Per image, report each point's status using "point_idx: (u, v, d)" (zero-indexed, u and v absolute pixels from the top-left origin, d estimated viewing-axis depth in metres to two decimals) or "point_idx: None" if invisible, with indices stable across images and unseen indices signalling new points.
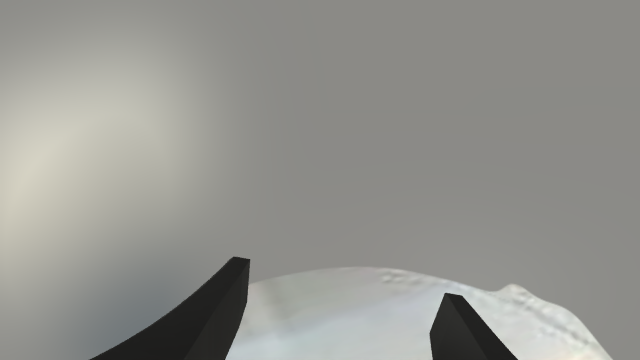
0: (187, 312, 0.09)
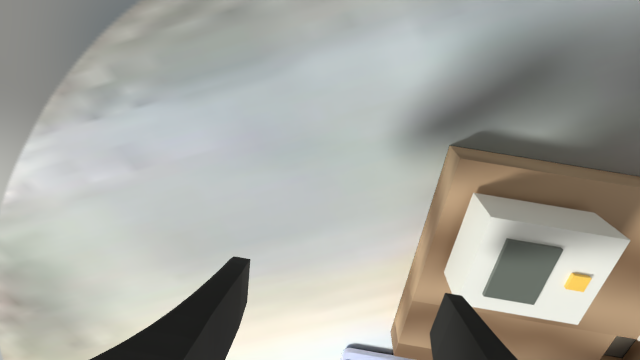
0: (187, 312, 0.09)
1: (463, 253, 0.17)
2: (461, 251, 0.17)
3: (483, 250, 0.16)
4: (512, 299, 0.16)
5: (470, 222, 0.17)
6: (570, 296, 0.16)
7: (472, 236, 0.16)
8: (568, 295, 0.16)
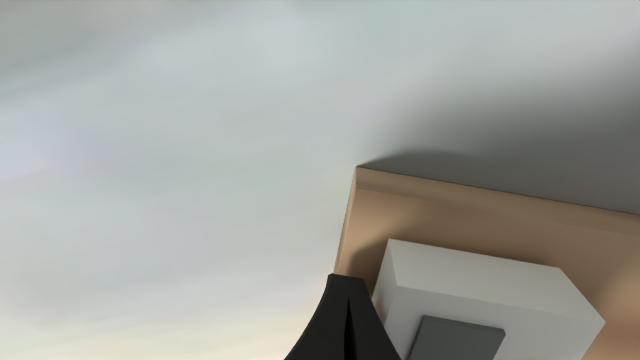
0: (320, 335, 0.09)
1: None
2: None
3: (392, 330, 0.11)
4: None
5: (382, 281, 0.12)
6: None
7: (382, 304, 0.11)
8: None
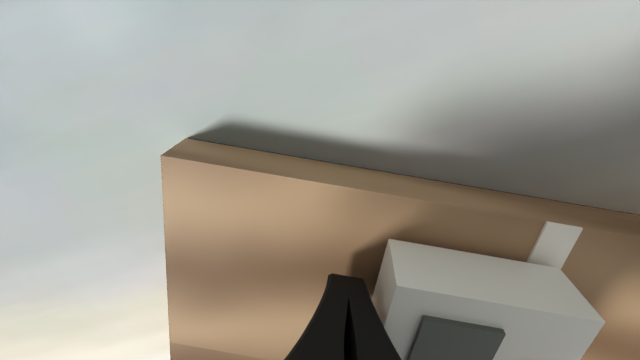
0: (320, 335, 0.09)
1: None
2: None
3: (392, 329, 0.11)
4: None
5: (382, 281, 0.12)
6: None
7: (382, 304, 0.11)
8: None
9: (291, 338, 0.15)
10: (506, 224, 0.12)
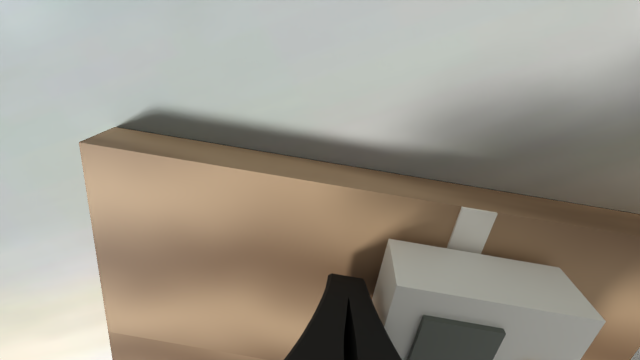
0: (320, 335, 0.09)
1: None
2: None
3: (392, 330, 0.11)
4: None
5: (382, 281, 0.12)
6: None
7: (382, 304, 0.11)
8: None
9: (226, 327, 0.15)
10: (423, 209, 0.12)
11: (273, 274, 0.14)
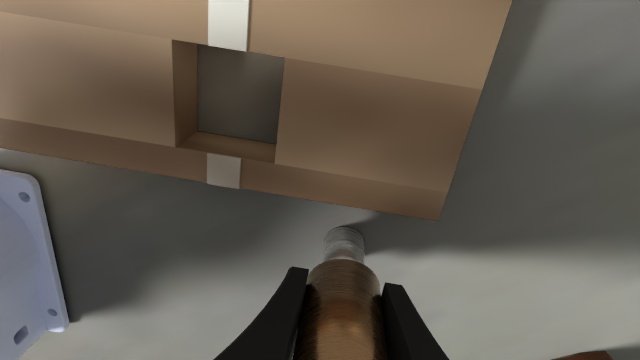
0: (267, 326, 0.09)
1: None
2: None
3: None
4: None
5: None
6: None
7: None
8: None
9: None
10: None
11: None
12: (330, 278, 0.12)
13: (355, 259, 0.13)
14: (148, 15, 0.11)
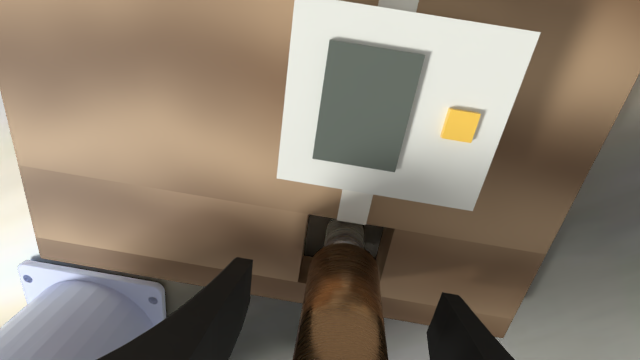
0: (190, 313, 0.09)
1: None
2: None
3: (297, 67, 0.09)
4: (360, 163, 0.10)
5: None
6: (453, 156, 0.10)
7: None
8: (450, 154, 0.10)
9: (144, 151, 0.14)
10: None
11: (187, 71, 0.12)
12: (331, 260, 0.13)
13: (354, 244, 0.14)
14: (292, 198, 0.14)
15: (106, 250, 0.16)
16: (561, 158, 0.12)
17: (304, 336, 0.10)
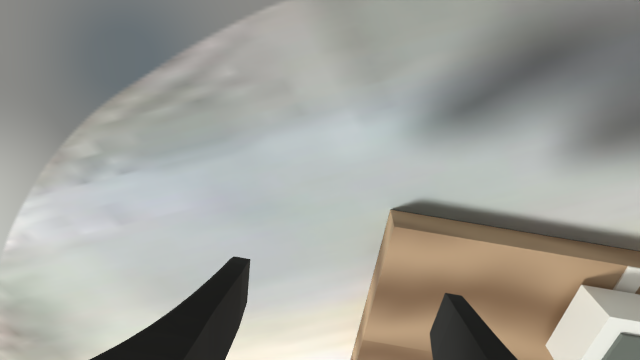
0: (187, 312, 0.09)
1: (572, 336, 0.20)
2: (569, 334, 0.20)
3: (599, 341, 0.18)
4: None
5: (580, 311, 0.20)
6: None
7: (584, 325, 0.19)
8: None
9: None
10: (603, 267, 0.20)
11: (493, 304, 0.21)
12: None
13: None
14: None
15: None
16: None
17: None
